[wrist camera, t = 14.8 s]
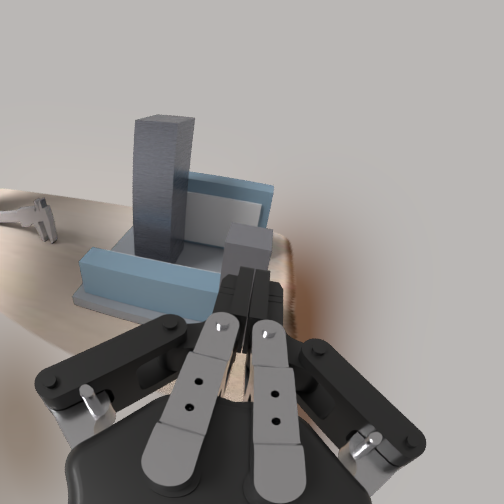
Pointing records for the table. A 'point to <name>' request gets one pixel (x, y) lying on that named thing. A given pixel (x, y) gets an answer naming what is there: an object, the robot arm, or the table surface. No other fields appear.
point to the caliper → (34, 219)
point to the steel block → (161, 185)
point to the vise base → (196, 234)
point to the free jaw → (174, 275)
